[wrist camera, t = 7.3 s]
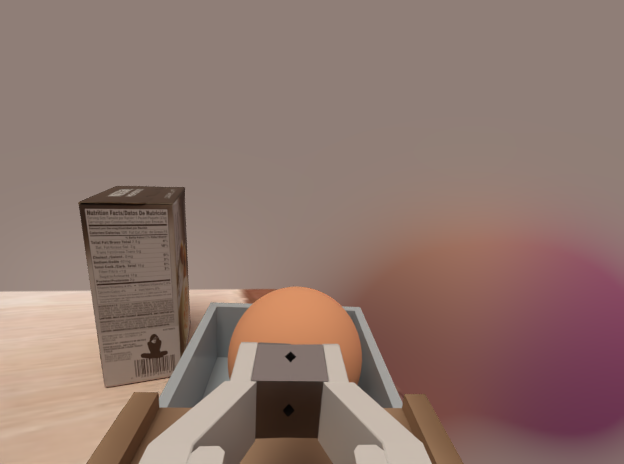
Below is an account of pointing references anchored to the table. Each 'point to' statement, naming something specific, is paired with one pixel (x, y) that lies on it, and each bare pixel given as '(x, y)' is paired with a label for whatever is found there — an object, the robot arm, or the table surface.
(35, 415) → the table surface
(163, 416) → the brown wooden grooved block
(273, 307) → the ball
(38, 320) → the table surface
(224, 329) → the pale blue storage tray
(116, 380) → the coffee box
